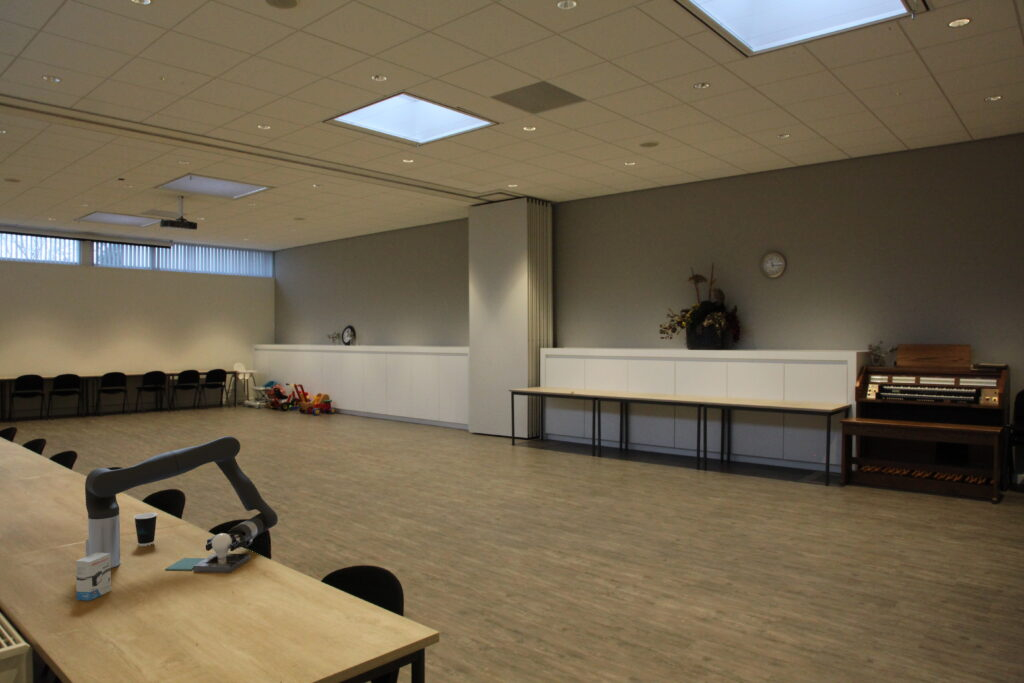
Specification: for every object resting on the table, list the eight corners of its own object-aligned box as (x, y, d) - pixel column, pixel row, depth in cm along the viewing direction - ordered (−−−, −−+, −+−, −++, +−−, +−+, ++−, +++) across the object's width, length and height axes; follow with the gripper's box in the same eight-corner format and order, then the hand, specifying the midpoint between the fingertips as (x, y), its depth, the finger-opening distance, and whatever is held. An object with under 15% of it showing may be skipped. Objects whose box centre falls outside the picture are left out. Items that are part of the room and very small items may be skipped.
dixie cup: (155, 539, 264) (154, 511, 264) (160, 544, 258) (159, 515, 257) (132, 544, 259) (131, 515, 259) (136, 549, 253) (136, 519, 252)
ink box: (89, 601, 203) (89, 561, 203) (75, 600, 204) (75, 560, 204) (112, 590, 211) (111, 552, 211) (98, 589, 212) (97, 551, 212)
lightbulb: (215, 562, 236) (215, 531, 236) (234, 562, 237) (234, 530, 236) (209, 569, 230) (208, 536, 230) (228, 568, 230) (228, 535, 230)
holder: (193, 571, 227) (193, 565, 227) (214, 558, 240) (214, 553, 240) (230, 572, 226) (230, 566, 226) (249, 559, 239) (249, 554, 239)
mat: (165, 570, 229) (165, 568, 229) (184, 559, 240) (184, 557, 240) (190, 570, 228) (190, 569, 228) (208, 559, 239) (208, 558, 239)
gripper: (223, 523, 248) (198, 536, 232) (261, 524, 247) (239, 537, 231) (223, 543, 248) (199, 558, 232) (261, 544, 247) (239, 559, 231)
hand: (219, 548), depth 231 cm, fingers open, 8 cm apart
